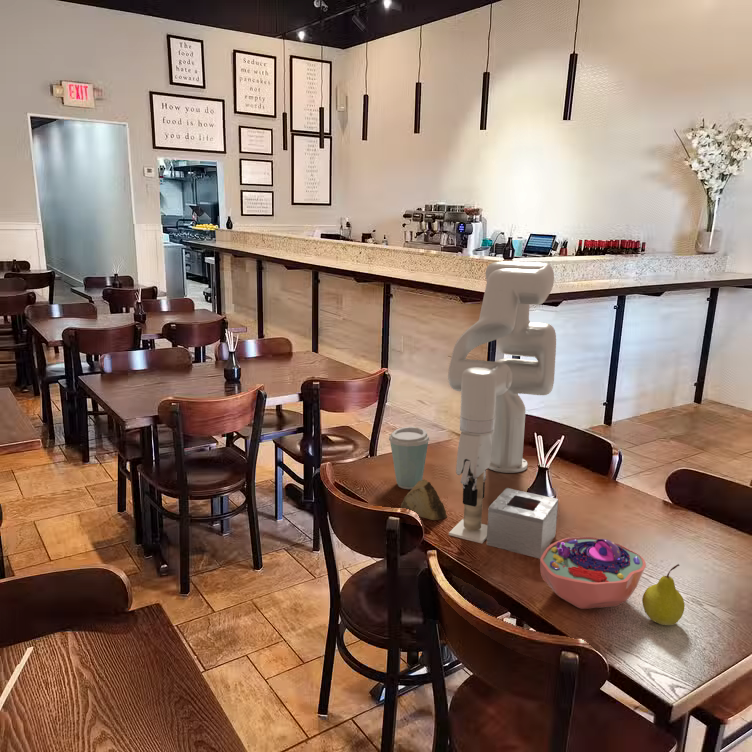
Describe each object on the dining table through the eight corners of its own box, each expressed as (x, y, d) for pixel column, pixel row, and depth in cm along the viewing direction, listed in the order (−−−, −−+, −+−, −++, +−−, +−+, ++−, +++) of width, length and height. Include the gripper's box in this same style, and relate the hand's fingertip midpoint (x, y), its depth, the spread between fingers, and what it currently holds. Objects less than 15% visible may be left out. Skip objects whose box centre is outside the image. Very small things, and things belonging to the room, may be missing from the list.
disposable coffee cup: (413, 496, 170) (414, 441, 166) (380, 485, 176) (380, 432, 173) (435, 483, 178) (437, 430, 175) (402, 474, 184) (403, 422, 181)
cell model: (518, 585, 129) (521, 532, 127) (601, 567, 136) (606, 517, 134) (571, 635, 114) (577, 576, 111) (662, 612, 121) (669, 556, 118)
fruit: (633, 621, 118) (640, 560, 115) (650, 605, 123) (657, 547, 120) (672, 638, 113) (680, 575, 111) (688, 621, 118) (696, 561, 115)
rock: (388, 502, 161) (410, 513, 152) (404, 471, 162) (427, 480, 154) (418, 520, 166) (442, 531, 157) (434, 490, 167) (458, 499, 159)
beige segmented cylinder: (467, 520, 153) (470, 455, 149) (483, 524, 151) (487, 459, 147) (460, 527, 150) (463, 461, 146) (477, 531, 148) (480, 464, 144)
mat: (462, 521, 156) (462, 519, 156) (494, 529, 152) (494, 526, 152) (448, 535, 149) (448, 532, 149) (482, 543, 146) (482, 541, 145)
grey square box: (504, 523, 155) (506, 487, 153) (555, 535, 150) (558, 498, 147) (486, 544, 145) (488, 507, 143) (540, 558, 139) (543, 519, 137)
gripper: (474, 412, 154) (471, 485, 158) (446, 431, 139) (443, 511, 144) (505, 417, 150) (501, 491, 154) (479, 437, 136) (475, 519, 140)
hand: (473, 500), depth 149 cm, fingers closed on beige segmented cylinder, 3 cm apart
